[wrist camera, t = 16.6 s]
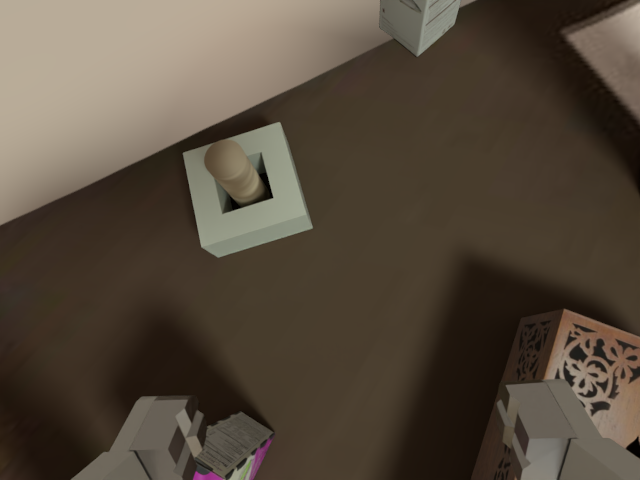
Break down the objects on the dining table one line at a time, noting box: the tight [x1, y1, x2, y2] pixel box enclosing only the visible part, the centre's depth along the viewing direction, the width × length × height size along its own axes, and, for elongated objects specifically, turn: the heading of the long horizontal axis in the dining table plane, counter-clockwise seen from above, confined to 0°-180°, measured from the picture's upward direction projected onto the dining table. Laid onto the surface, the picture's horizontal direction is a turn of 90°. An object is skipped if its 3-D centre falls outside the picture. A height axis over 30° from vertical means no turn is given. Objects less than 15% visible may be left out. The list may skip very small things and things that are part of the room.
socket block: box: [183, 122, 313, 257], centre depth 47 cm, size 12×12×5 cm
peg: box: [204, 140, 271, 208], centre depth 44 cm, size 4×4×11 cm
